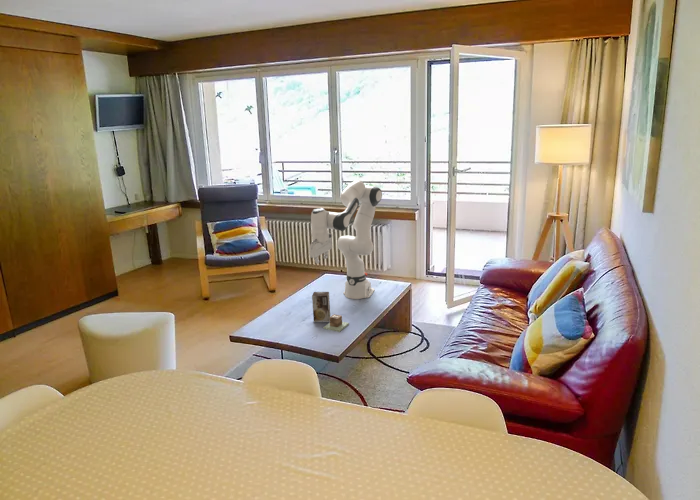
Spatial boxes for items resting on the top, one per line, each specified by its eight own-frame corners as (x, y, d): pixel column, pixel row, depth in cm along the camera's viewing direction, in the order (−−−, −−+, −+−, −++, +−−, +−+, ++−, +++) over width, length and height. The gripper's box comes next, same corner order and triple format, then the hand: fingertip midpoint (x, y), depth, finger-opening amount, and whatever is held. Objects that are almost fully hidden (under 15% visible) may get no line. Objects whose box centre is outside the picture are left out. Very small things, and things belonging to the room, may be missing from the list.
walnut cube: (342, 323, 277) (341, 315, 276) (337, 327, 273) (337, 318, 272) (334, 322, 280) (333, 314, 278) (329, 325, 275) (329, 317, 274)
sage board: (333, 321, 283) (333, 319, 283) (348, 324, 279) (348, 322, 279) (323, 328, 274) (323, 327, 274) (339, 331, 270) (339, 330, 269)
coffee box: (330, 317, 289) (329, 291, 285) (329, 322, 283) (328, 295, 279) (315, 317, 290) (313, 291, 286) (313, 322, 284) (311, 295, 279)
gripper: (315, 242, 272) (317, 266, 276) (333, 233, 289) (334, 256, 293) (305, 241, 275) (307, 265, 279) (323, 232, 292) (325, 255, 296)
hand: (321, 260), depth 286 cm, fingers open, 8 cm apart
